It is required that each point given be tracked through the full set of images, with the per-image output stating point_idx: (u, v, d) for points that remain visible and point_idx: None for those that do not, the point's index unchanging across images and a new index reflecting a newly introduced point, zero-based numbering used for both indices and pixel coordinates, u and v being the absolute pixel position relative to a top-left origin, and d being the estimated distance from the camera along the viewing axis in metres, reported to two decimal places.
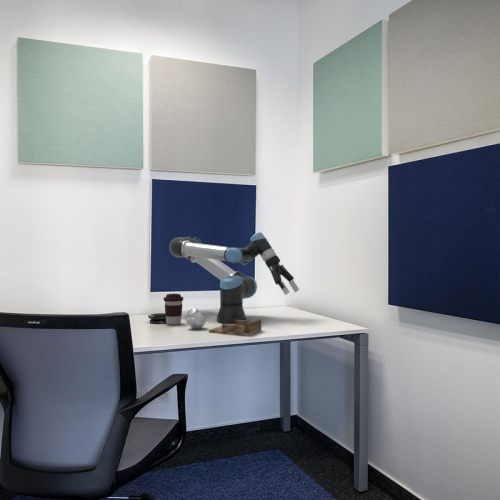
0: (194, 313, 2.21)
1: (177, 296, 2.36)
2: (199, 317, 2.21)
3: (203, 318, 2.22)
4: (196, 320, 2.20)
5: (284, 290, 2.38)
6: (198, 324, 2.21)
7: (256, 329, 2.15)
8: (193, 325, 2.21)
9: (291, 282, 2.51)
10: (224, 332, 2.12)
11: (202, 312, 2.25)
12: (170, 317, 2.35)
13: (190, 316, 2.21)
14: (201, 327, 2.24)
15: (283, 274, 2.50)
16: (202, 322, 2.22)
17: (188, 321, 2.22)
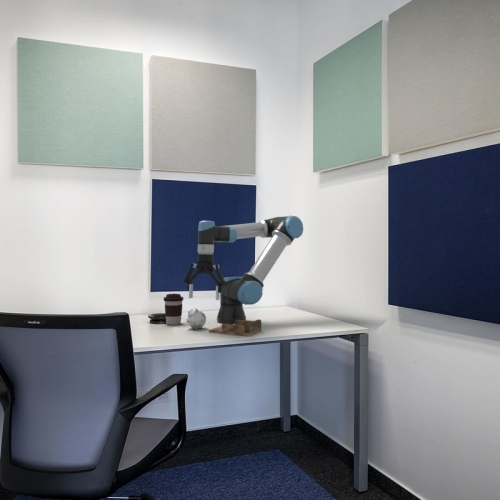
0: (194, 313, 2.21)
1: (177, 296, 2.36)
2: (199, 317, 2.21)
3: (203, 318, 2.22)
4: (196, 320, 2.20)
5: None
6: (198, 324, 2.21)
7: (256, 329, 2.15)
8: (193, 325, 2.21)
9: None
10: (224, 332, 2.12)
11: (202, 312, 2.24)
12: (170, 317, 2.35)
13: (190, 316, 2.21)
14: (201, 327, 2.24)
15: None
16: (202, 322, 2.22)
17: (188, 321, 2.22)
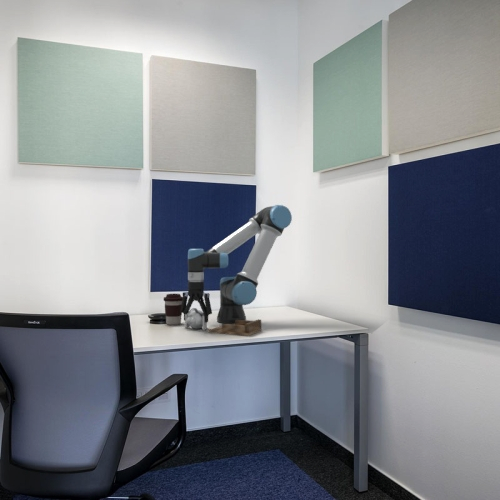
0: (194, 313, 2.21)
1: (177, 296, 2.36)
2: (199, 317, 2.21)
3: (202, 318, 2.22)
4: (196, 320, 2.20)
5: None
6: (198, 324, 2.21)
7: (256, 329, 2.15)
8: (193, 325, 2.21)
9: None
10: (224, 332, 2.12)
11: (202, 312, 2.25)
12: (170, 317, 2.35)
13: (190, 316, 2.21)
14: (200, 327, 2.24)
15: None
16: (202, 322, 2.22)
17: (188, 321, 2.22)
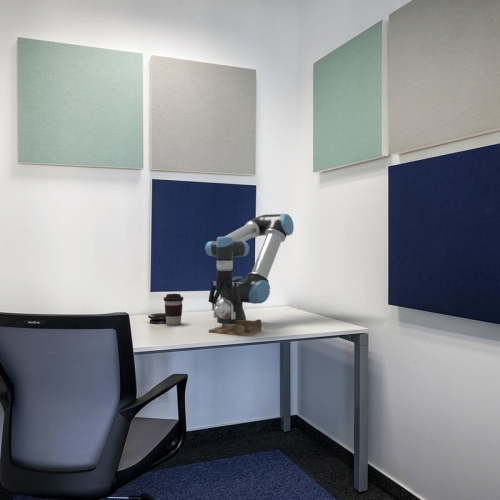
0: (223, 302, 2.16)
1: (177, 296, 2.36)
2: (228, 306, 2.16)
3: None
4: (225, 309, 2.16)
5: None
6: (227, 314, 2.16)
7: (256, 329, 2.15)
8: (221, 315, 2.16)
9: None
10: (224, 332, 2.12)
11: None
12: (170, 317, 2.35)
13: (218, 306, 2.17)
14: (229, 317, 2.19)
15: None
16: None
17: (216, 310, 2.17)
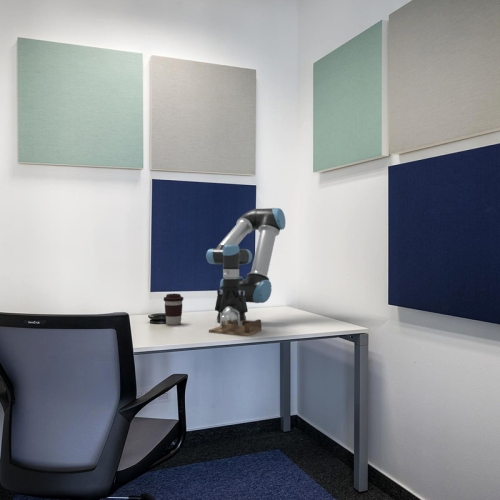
0: (229, 311, 2.15)
1: (177, 296, 2.36)
2: (235, 315, 2.15)
3: None
4: (231, 318, 2.14)
5: None
6: (233, 322, 2.15)
7: (256, 329, 2.15)
8: (228, 323, 2.15)
9: None
10: (224, 332, 2.12)
11: None
12: (170, 317, 2.35)
13: (225, 314, 2.15)
14: None
15: None
16: (237, 320, 2.15)
17: (223, 319, 2.15)
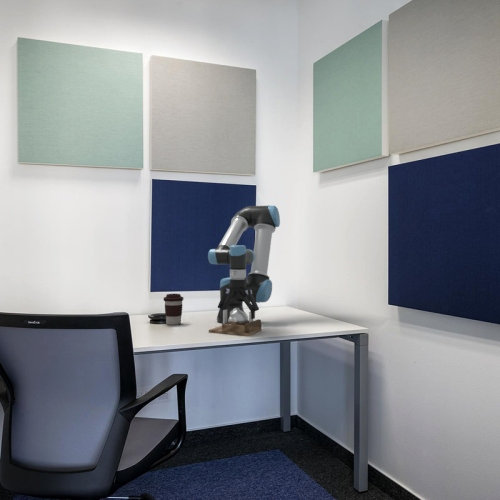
0: (237, 313, 2.13)
1: (177, 296, 2.36)
2: (242, 317, 2.13)
3: (245, 318, 2.14)
4: (239, 320, 2.13)
5: None
6: (241, 324, 2.13)
7: (256, 329, 2.15)
8: None
9: None
10: (224, 332, 2.12)
11: (244, 312, 2.17)
12: (170, 317, 2.35)
13: (232, 316, 2.14)
14: None
15: None
16: (245, 322, 2.14)
17: (230, 321, 2.14)
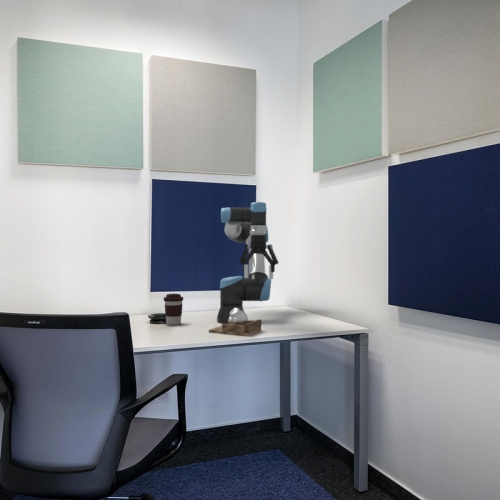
0: (236, 313, 2.13)
1: (177, 296, 2.36)
2: (242, 317, 2.13)
3: (245, 318, 2.14)
4: (239, 320, 2.13)
5: None
6: (241, 324, 2.13)
7: (256, 329, 2.15)
8: None
9: None
10: (224, 332, 2.12)
11: (244, 312, 2.17)
12: (170, 317, 2.35)
13: (232, 316, 2.14)
14: None
15: None
16: (245, 322, 2.14)
17: (230, 321, 2.14)
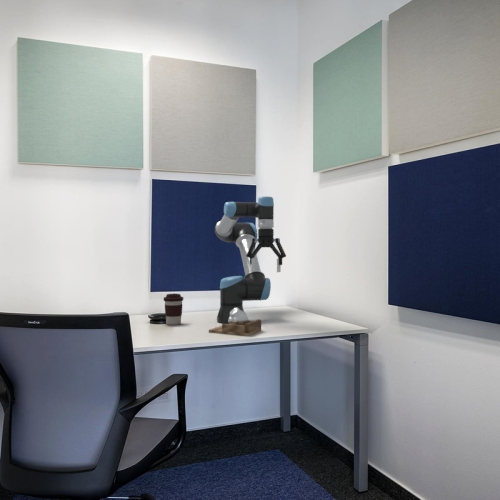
0: (236, 313, 2.13)
1: (177, 296, 2.36)
2: (242, 317, 2.13)
3: (245, 318, 2.14)
4: (239, 320, 2.13)
5: None
6: (241, 324, 2.13)
7: (256, 329, 2.15)
8: None
9: None
10: (224, 332, 2.12)
11: (244, 312, 2.17)
12: (170, 317, 2.35)
13: (232, 316, 2.14)
14: None
15: None
16: (245, 322, 2.14)
17: (230, 321, 2.14)
